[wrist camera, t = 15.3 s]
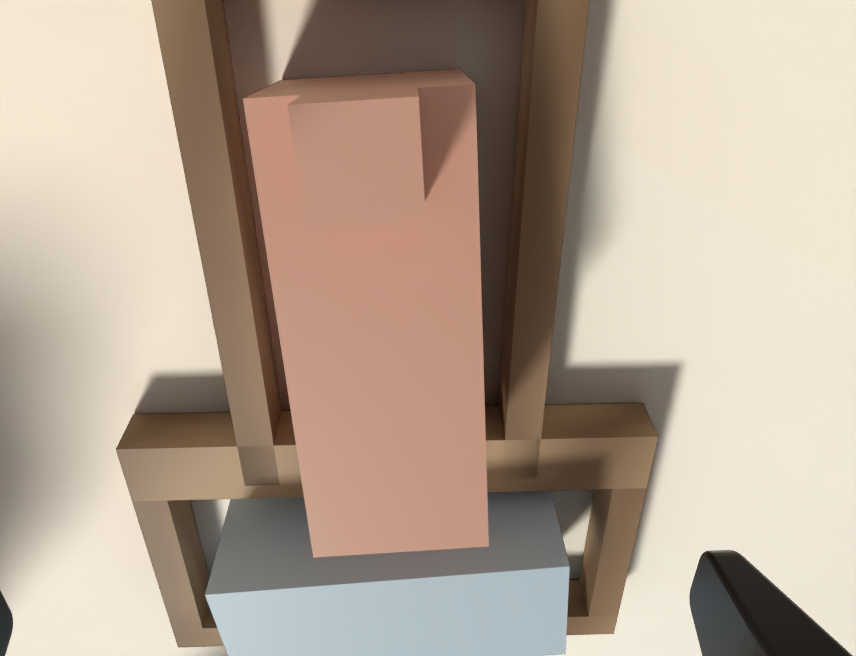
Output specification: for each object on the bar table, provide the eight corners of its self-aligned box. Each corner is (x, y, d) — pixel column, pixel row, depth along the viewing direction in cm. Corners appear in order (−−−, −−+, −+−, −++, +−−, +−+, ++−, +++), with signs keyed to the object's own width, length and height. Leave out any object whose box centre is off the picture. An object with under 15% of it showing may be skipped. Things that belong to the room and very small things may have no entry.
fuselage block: (459, 69, 16) (484, 92, 11) (473, 448, 20) (496, 595, 15) (280, 80, 16) (221, 108, 11) (330, 458, 20) (304, 607, 15)
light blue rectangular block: (544, 464, 23) (569, 566, 19) (542, 548, 25) (565, 654, 22) (233, 489, 23) (204, 595, 20) (258, 570, 25) (236, 679, 22)
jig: (741, -81, 15) (774, -77, 13) (603, 596, 26) (613, 633, 25) (-8, -79, 14) (-49, -74, 13) (189, 609, 26) (178, 647, 24)
